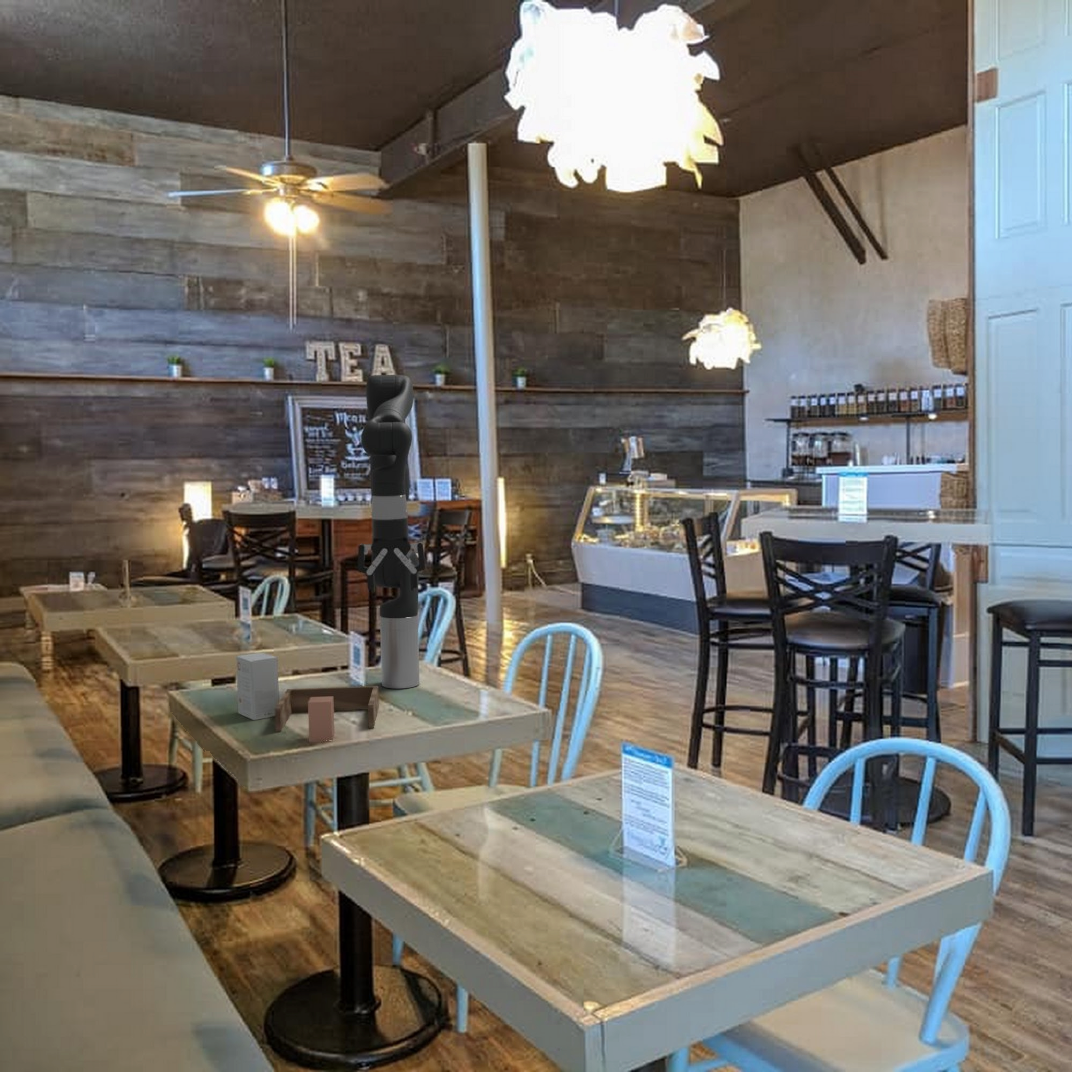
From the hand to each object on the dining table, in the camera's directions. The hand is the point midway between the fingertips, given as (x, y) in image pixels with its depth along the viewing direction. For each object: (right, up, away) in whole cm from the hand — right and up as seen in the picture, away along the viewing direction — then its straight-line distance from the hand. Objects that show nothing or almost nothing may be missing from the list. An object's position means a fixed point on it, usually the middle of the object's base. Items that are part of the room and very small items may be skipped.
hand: (392, 591), depth 223 cm
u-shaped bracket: (-14, -28, -1) cm, 31 cm away
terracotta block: (-12, -29, -15) cm, 35 cm away
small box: (-30, -28, +5) cm, 41 cm away
